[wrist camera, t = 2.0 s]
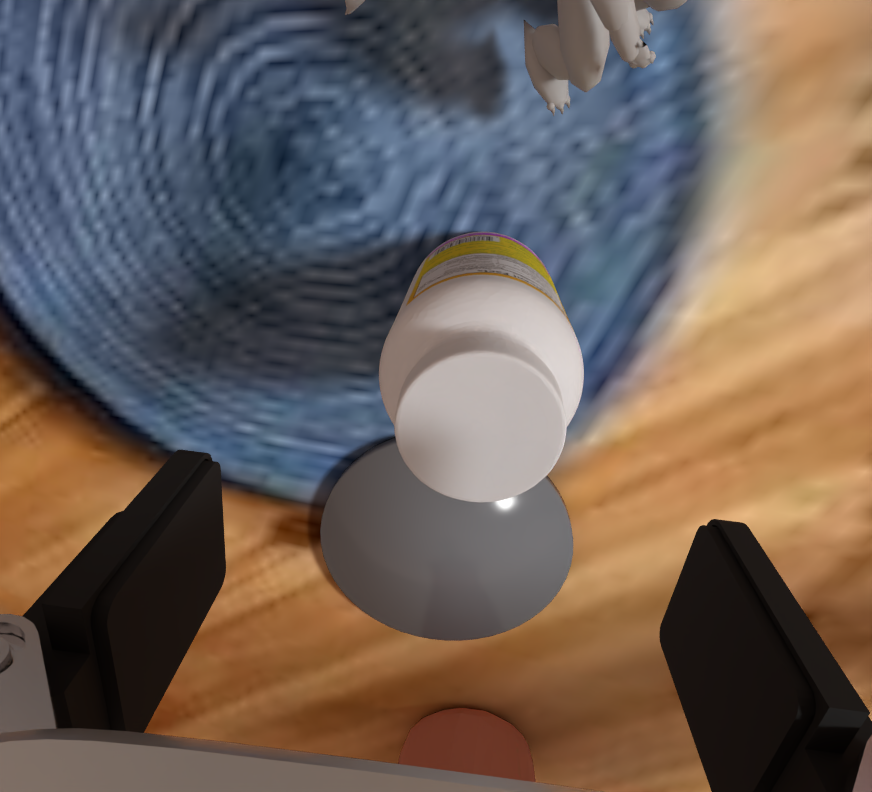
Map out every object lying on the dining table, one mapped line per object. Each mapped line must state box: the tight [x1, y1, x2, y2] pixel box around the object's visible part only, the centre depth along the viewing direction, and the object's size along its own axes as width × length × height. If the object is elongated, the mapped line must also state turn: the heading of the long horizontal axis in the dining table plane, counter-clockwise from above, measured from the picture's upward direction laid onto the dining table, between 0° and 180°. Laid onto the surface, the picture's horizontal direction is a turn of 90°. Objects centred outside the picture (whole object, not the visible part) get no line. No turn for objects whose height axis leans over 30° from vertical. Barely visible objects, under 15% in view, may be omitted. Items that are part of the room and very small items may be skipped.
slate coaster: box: [320, 438, 573, 640], centre depth 33 cm, size 14×14×1 cm
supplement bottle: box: [379, 232, 584, 502], centre depth 22 cm, size 7×7×13 cm
